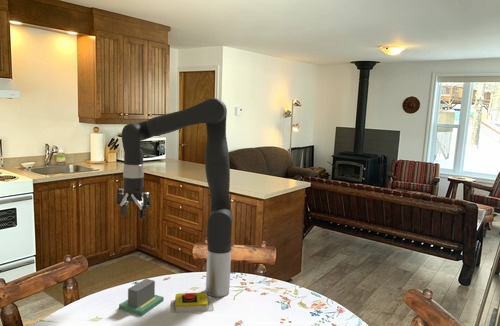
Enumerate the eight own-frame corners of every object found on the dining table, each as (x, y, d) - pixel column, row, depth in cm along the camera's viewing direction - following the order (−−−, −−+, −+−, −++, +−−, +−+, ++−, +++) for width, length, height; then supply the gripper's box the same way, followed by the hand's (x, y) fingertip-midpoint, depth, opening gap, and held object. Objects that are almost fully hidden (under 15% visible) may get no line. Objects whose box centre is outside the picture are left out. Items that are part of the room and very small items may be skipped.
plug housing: (145, 294, 139) (145, 278, 138) (154, 296, 137) (154, 280, 137) (127, 305, 130) (128, 288, 129) (137, 308, 129) (137, 291, 128)
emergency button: (171, 290, 138) (212, 288, 141) (171, 301, 138) (211, 299, 141) (171, 302, 129) (214, 300, 132) (171, 314, 129) (214, 312, 132)
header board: (141, 294, 141) (141, 282, 141) (163, 300, 138) (163, 287, 137) (119, 308, 130) (119, 295, 130) (142, 315, 127) (142, 301, 126)
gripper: (154, 176, 144) (154, 217, 146) (125, 172, 149) (125, 212, 151) (142, 179, 137) (141, 222, 139) (111, 174, 142) (111, 216, 144)
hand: (132, 216), depth 145 cm, fingers open, 8 cm apart
